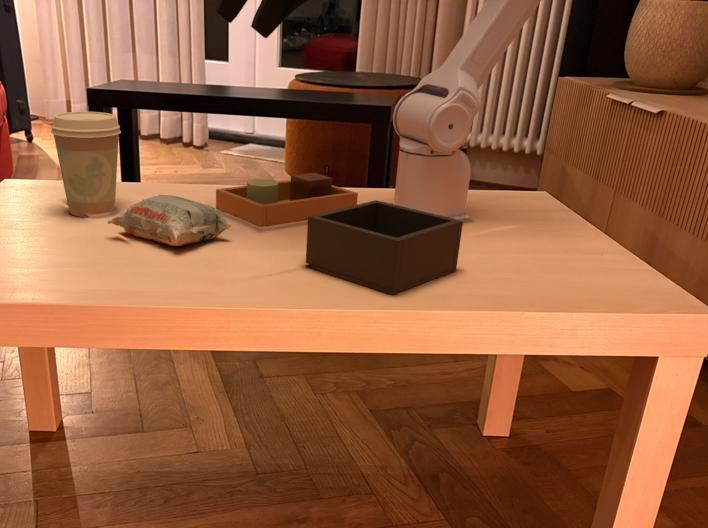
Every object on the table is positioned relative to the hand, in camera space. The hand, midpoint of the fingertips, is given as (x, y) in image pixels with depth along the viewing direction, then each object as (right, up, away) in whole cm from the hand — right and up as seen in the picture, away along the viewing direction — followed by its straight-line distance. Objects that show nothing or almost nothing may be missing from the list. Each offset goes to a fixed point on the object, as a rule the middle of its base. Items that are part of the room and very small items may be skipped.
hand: (240, 25), depth 84 cm
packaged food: (-9, -23, +5) cm, 25 cm away
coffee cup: (-20, -17, +17) cm, 31 cm away
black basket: (+15, -27, -1) cm, 31 cm away
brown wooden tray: (+5, -16, +19) cm, 26 cm away
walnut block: (+9, -15, +21) cm, 27 cm away
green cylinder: (+2, -17, +16) cm, 24 cm away
